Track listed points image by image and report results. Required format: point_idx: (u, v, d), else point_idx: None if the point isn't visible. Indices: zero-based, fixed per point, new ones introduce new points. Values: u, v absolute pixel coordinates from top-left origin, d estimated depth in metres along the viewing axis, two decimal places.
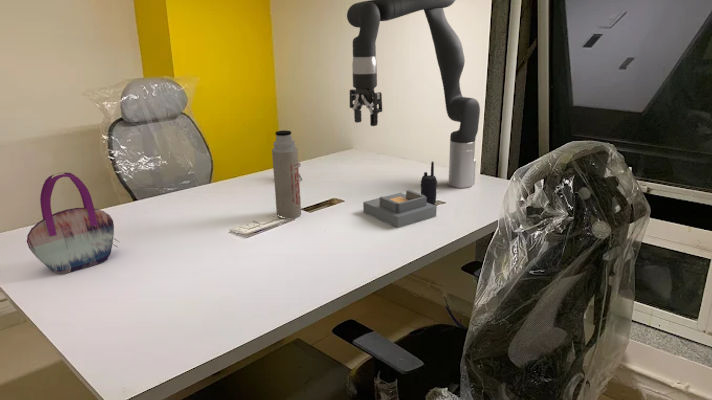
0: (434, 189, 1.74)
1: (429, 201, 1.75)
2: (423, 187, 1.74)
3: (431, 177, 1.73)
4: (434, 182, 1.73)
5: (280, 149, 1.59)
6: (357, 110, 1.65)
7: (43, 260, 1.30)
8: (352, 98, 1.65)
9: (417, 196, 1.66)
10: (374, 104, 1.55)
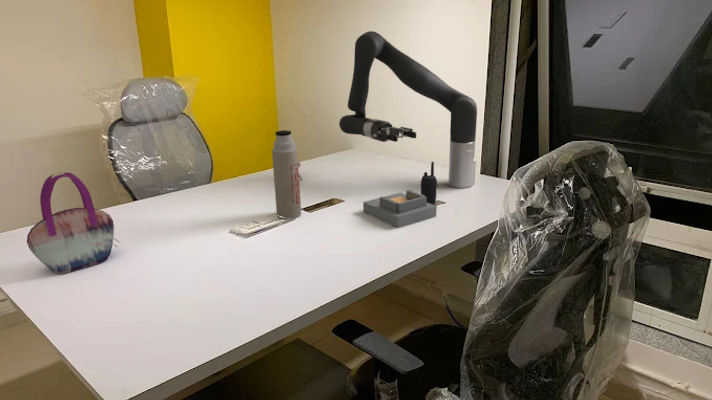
0: (434, 189, 1.74)
1: (429, 201, 1.75)
2: (423, 187, 1.74)
3: (431, 177, 1.73)
4: (434, 182, 1.73)
5: (280, 149, 1.59)
6: (407, 134, 1.84)
7: (43, 260, 1.30)
8: (404, 133, 1.88)
9: (417, 196, 1.66)
10: None
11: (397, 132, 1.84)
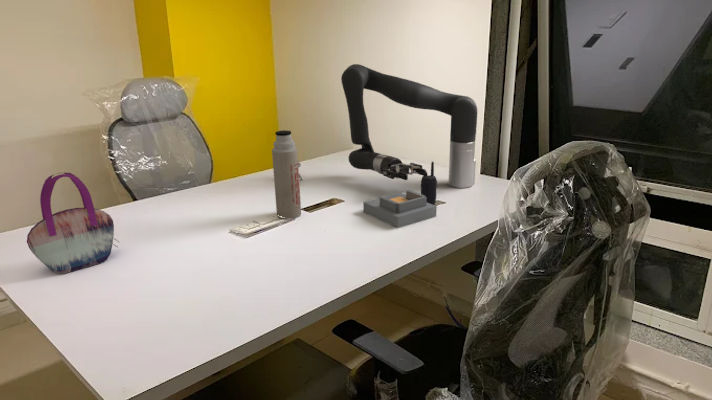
0: (434, 189, 1.74)
1: (429, 201, 1.75)
2: (423, 187, 1.74)
3: (431, 177, 1.73)
4: (434, 182, 1.73)
5: (280, 149, 1.59)
6: (417, 171, 1.84)
7: (43, 260, 1.30)
8: (414, 170, 1.88)
9: (417, 196, 1.66)
10: None
11: (407, 169, 1.84)
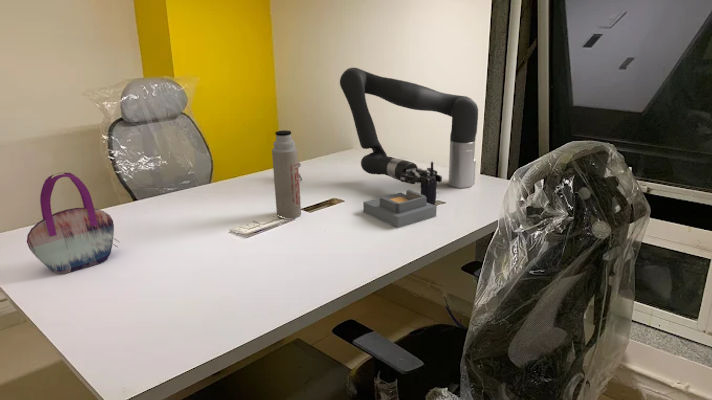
0: (434, 189, 1.74)
1: (429, 201, 1.75)
2: (423, 187, 1.73)
3: (431, 177, 1.73)
4: (434, 182, 1.73)
5: (280, 149, 1.59)
6: None
7: (43, 260, 1.30)
8: None
9: (417, 196, 1.66)
10: None
11: (421, 174, 1.77)
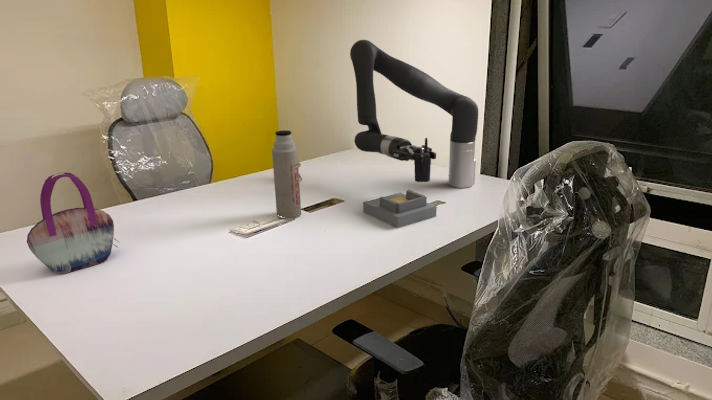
0: (428, 166, 1.69)
1: (423, 178, 1.71)
2: (417, 164, 1.69)
3: (425, 154, 1.68)
4: (428, 159, 1.68)
5: (280, 149, 1.59)
6: None
7: (43, 260, 1.30)
8: None
9: (417, 196, 1.66)
10: None
11: (415, 151, 1.73)
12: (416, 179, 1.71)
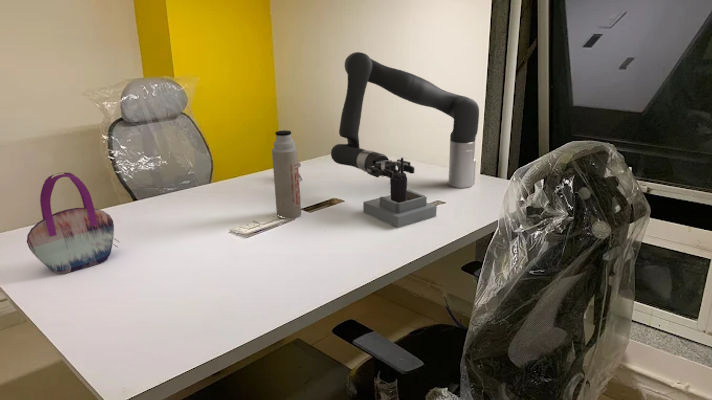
0: (404, 187, 1.64)
1: (399, 199, 1.65)
2: (392, 185, 1.64)
3: (401, 174, 1.64)
4: (404, 179, 1.64)
5: (280, 149, 1.59)
6: (405, 168, 1.67)
7: (43, 260, 1.30)
8: None
9: (417, 196, 1.66)
10: None
11: (393, 166, 1.67)
12: None
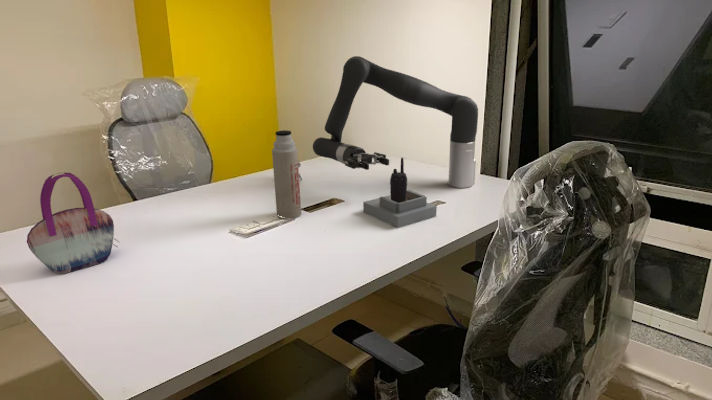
0: (404, 187, 1.64)
1: (399, 199, 1.65)
2: (392, 185, 1.64)
3: (401, 174, 1.63)
4: (404, 179, 1.64)
5: (280, 149, 1.59)
6: (380, 161, 1.77)
7: (43, 260, 1.30)
8: (378, 159, 1.81)
9: (417, 196, 1.66)
10: None
11: (369, 159, 1.77)
12: None
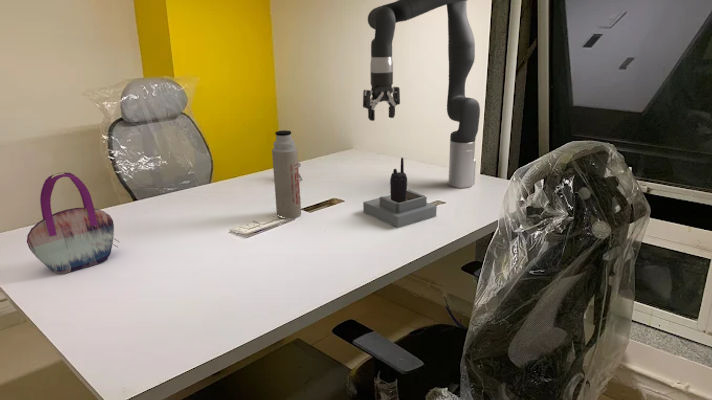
0: (404, 187, 1.64)
1: (399, 199, 1.65)
2: (392, 185, 1.64)
3: (401, 174, 1.63)
4: (404, 179, 1.64)
5: (280, 149, 1.59)
6: (390, 106, 1.78)
7: (43, 260, 1.30)
8: (393, 95, 1.78)
9: (417, 196, 1.66)
10: None
11: (385, 100, 1.75)
12: None
